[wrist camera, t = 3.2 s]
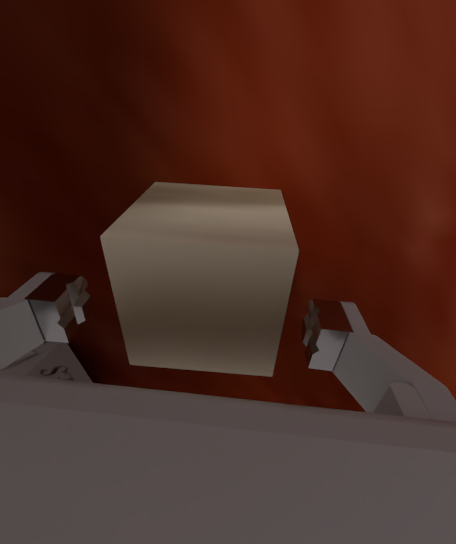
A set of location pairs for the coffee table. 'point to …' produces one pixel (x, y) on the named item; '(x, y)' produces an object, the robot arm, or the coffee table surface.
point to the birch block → (202, 277)
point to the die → (49, 363)
